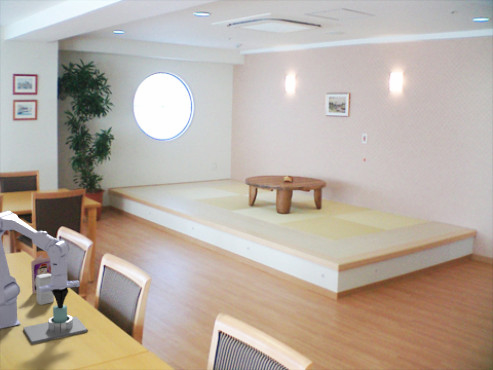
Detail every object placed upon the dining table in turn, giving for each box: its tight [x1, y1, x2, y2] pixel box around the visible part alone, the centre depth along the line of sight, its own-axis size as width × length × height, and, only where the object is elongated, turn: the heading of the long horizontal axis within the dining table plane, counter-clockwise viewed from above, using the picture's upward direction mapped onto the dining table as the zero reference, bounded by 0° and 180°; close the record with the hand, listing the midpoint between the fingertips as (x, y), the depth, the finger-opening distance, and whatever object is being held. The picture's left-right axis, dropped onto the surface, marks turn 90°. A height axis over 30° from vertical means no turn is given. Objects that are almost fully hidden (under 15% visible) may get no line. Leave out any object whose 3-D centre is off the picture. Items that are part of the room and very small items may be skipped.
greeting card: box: [30, 254, 51, 295], centre depth 241 cm, size 11×7×15 cm, turn 143°
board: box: [23, 315, 88, 345], centre depth 200 cm, size 20×14×1 cm
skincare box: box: [36, 273, 55, 306], centre depth 226 cm, size 6×4×12 cm
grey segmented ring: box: [47, 314, 73, 332], centre depth 201 cm, size 9×9×3 cm
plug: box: [52, 304, 68, 323], centre depth 200 cm, size 5×5×8 cm
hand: (60, 307), depth 200 cm, fingers closed, pressing on plug
